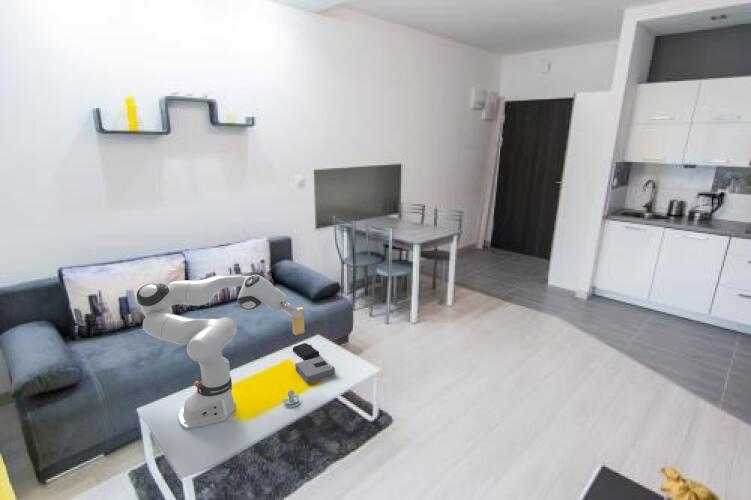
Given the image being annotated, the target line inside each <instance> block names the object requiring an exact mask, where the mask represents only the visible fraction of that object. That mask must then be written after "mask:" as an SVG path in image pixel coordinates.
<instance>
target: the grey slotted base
mask: <svg viewBox="0 0 751 500" xmlns="http://www.w3.org/2000/svg"><path fill="white" fill-rule="evenodd" d="M335 370H336V369H335V366H334V365H333V363H331V361H329V360H328V359H327V358H326V357H325V356H324V355H319V356H316V357H314V358H311V359H308V360H303V361H299V362H296V363H295V372H296V373H297V374H298V376H300V378H301V379H302V380H303V381H304V382H305V384H306V385H309V384H312V383H314V382H317V381H322V380H324V379H327V378H331V377H334V376H335V375H336V373H335V372H336V371H335Z"/></svg>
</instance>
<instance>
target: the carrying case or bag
mask: <svg viewBox="0 0 751 500" xmlns="http://www.w3.org/2000/svg"><path fill="white" fill-rule="evenodd" d="M292 351H293V352H294V353H295V354H296V355H298V356H299V357H301V358H302V359H303V360H304V361H306V360H309V359H313V358H317V357H319V356H320V355H319V354H320V353H319V351H318V350H317V349H315V348H314V347H313V345H312V344H309V343H307V342H304V343H300V344H298V345H294V346H293V347H292Z"/></svg>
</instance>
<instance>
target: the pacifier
mask: <svg viewBox="0 0 751 500" xmlns="http://www.w3.org/2000/svg"><path fill="white" fill-rule="evenodd" d="M287 396H288V398H284V399H282V401H283V403H285V407H286V408H288V409H289V408H295V407H297V406H299V404H301V402H300V400H299V399H300V395H299V394H295V390H293V389H290V390H288V392H287Z"/></svg>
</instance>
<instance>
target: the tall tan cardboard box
mask: <svg viewBox="0 0 751 500" xmlns="http://www.w3.org/2000/svg"><path fill="white" fill-rule="evenodd" d="M296 308H297V309H298V310H299V311H300V312H301V315H300V317H299V318H298V319H296V318H294V317H293V316H291V323H292V325H291V326H292V334H293V335H294V336H297V335H301V334H304V333H305V311H304V308H303V307H301V306H300V307H296Z"/></svg>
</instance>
